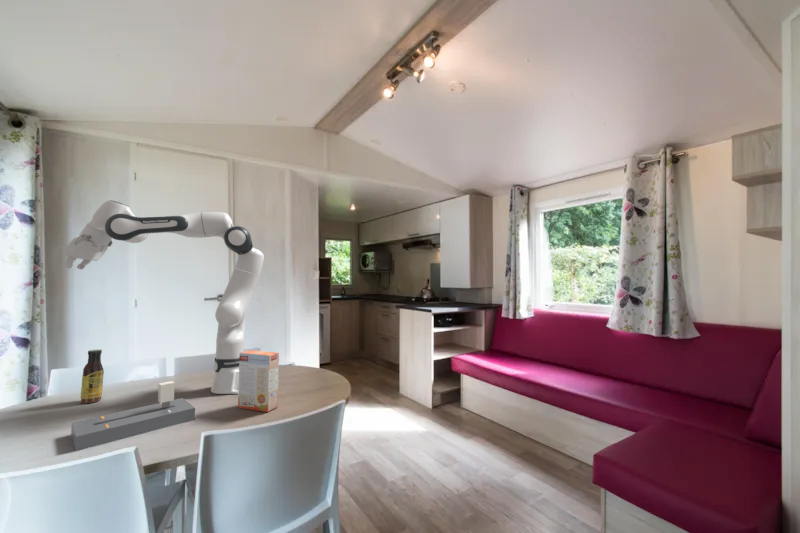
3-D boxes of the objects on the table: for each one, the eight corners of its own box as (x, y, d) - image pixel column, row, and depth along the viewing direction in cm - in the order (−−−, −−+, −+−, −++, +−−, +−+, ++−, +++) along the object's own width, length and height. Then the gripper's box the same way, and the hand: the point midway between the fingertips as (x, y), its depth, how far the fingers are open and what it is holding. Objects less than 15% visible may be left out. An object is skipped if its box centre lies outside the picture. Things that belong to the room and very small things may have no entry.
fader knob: (171, 403, 120) (172, 380, 120) (173, 406, 118) (174, 382, 118) (157, 406, 117) (158, 383, 117) (160, 409, 115) (160, 385, 115)
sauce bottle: (88, 404, 130) (91, 352, 131) (75, 403, 131) (78, 351, 132) (106, 399, 137) (108, 349, 137) (94, 397, 138) (96, 348, 139)
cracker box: (278, 407, 130) (279, 352, 131) (267, 413, 124) (269, 355, 125) (249, 402, 134) (250, 349, 135) (237, 408, 129) (238, 352, 130)
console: (182, 408, 127) (182, 397, 128) (194, 419, 118) (195, 407, 118) (71, 435, 105) (71, 421, 105) (75, 451, 96) (76, 436, 96)
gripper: (91, 237, 125) (67, 271, 122) (114, 243, 144) (94, 272, 141) (72, 229, 123) (47, 262, 120) (98, 236, 142) (77, 265, 139)
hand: (73, 268), depth 131 cm, fingers open, 8 cm apart
